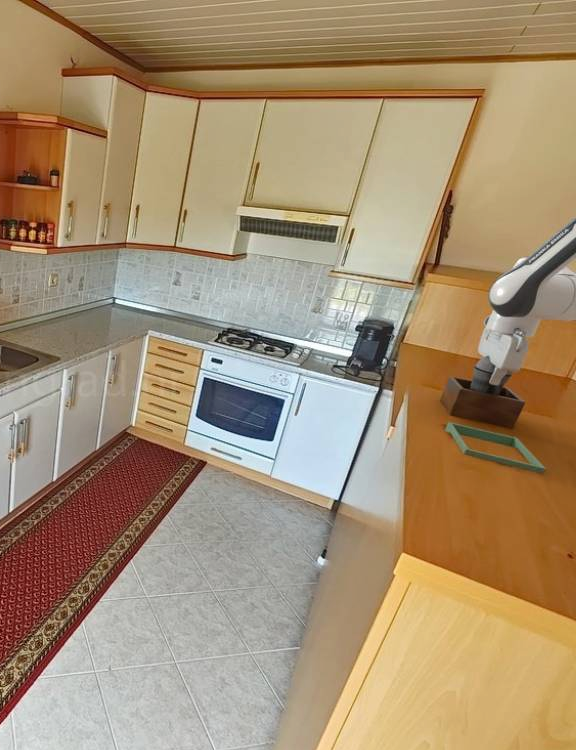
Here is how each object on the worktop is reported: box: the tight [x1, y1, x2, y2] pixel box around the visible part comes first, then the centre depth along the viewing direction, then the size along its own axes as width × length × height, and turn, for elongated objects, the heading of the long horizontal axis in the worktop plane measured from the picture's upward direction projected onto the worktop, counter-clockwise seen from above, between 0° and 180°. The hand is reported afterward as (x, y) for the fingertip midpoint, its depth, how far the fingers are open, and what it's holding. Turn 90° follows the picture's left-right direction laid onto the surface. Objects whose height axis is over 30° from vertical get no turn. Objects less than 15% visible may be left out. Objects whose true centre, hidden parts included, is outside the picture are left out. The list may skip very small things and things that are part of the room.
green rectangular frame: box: [444, 421, 547, 475], centre depth 100 cm, size 12×16×2 cm
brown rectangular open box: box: [439, 375, 526, 430], centre depth 123 cm, size 13×13×7 cm
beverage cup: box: [469, 356, 513, 396], centre depth 120 cm, size 7×7×20 cm
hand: (488, 379), depth 121 cm, fingers closed on beverage cup, 6 cm apart
